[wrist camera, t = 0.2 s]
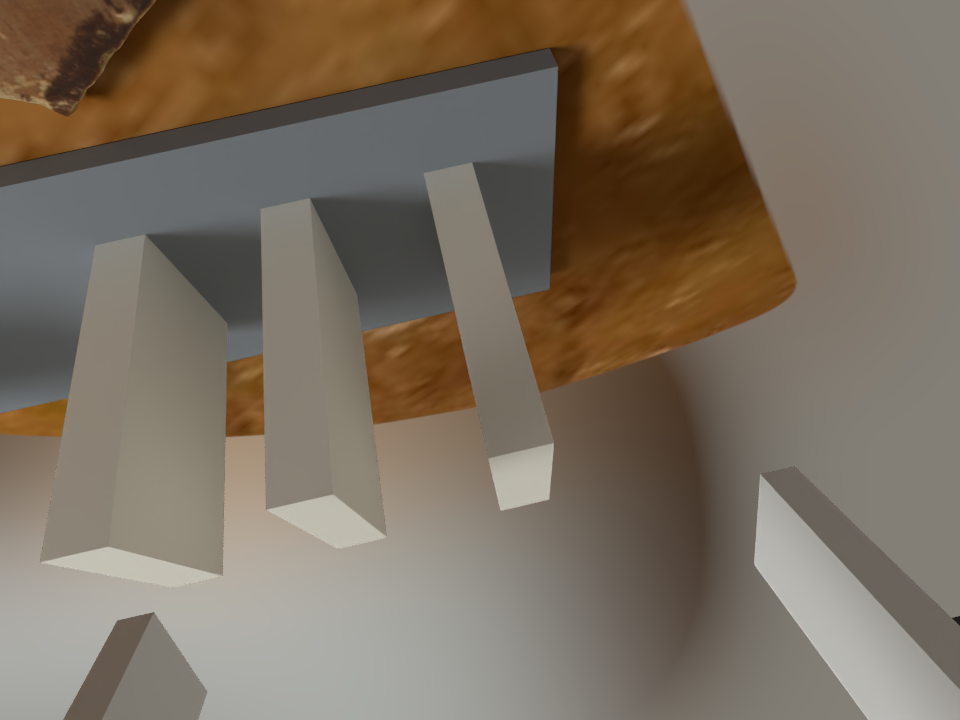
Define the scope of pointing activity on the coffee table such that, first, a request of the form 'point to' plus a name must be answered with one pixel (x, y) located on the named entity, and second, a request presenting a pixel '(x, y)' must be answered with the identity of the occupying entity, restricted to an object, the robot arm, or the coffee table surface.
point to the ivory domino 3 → (492, 341)
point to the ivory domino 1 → (142, 427)
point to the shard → (60, 47)
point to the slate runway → (274, 181)
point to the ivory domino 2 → (315, 385)
